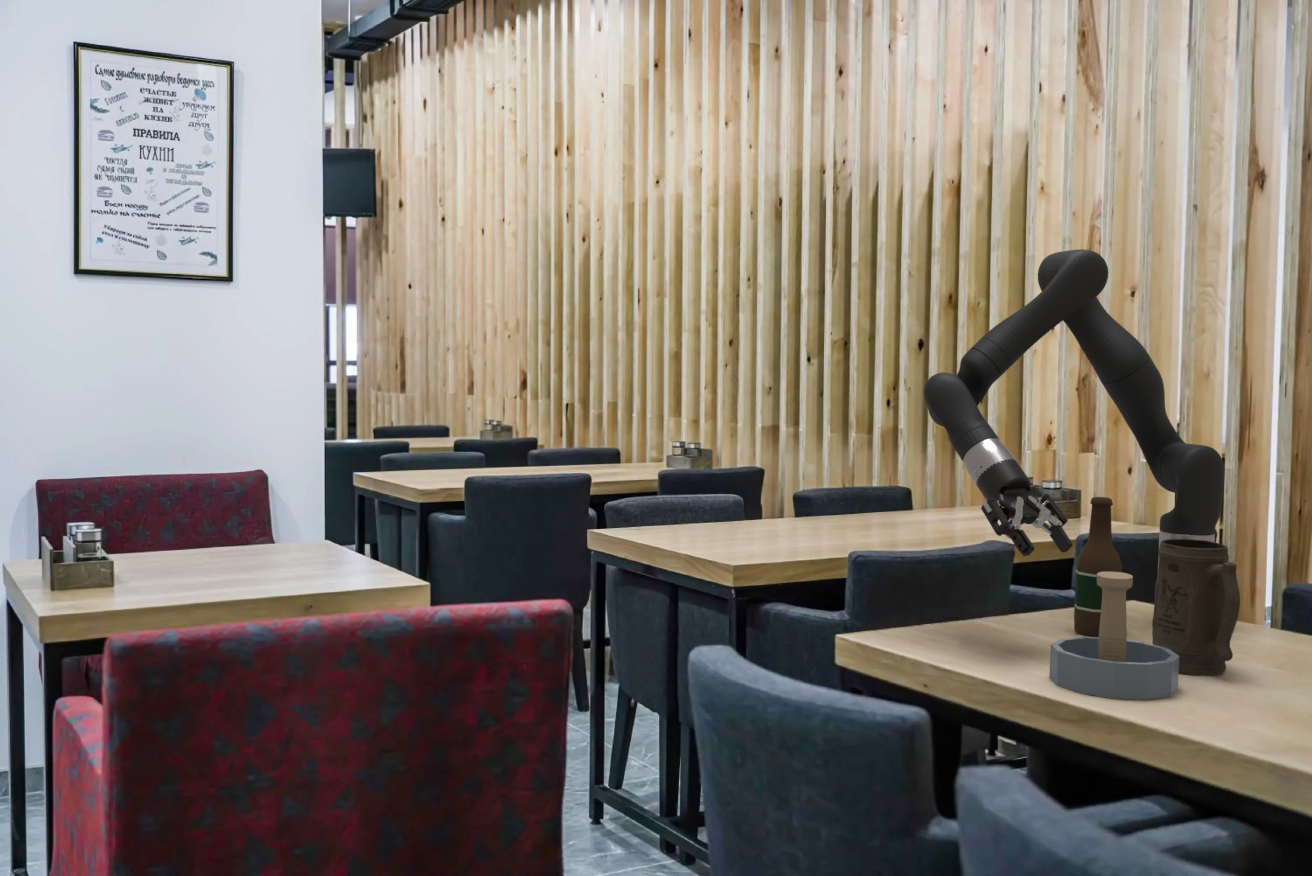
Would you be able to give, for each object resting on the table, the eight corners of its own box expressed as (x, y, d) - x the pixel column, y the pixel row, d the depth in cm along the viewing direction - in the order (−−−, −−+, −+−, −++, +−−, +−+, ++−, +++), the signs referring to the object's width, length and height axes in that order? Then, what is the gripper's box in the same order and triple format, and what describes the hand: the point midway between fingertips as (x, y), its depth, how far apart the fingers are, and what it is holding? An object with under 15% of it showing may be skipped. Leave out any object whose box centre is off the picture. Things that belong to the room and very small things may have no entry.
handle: (1127, 672, 177) (1131, 572, 176) (1130, 683, 171) (1134, 579, 170) (1093, 669, 178) (1096, 570, 178) (1094, 680, 172) (1098, 577, 171)
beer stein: (1131, 660, 189) (1143, 537, 186) (1181, 655, 193) (1193, 534, 191) (1210, 691, 175) (1224, 558, 172) (1263, 685, 179) (1277, 555, 177)
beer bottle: (1124, 632, 210) (1129, 497, 209) (1114, 640, 204) (1120, 501, 202) (1078, 626, 214) (1083, 494, 213) (1068, 634, 208) (1073, 497, 206)
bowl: (1111, 665, 186) (1112, 633, 185) (1202, 692, 170) (1203, 658, 170) (1026, 675, 179) (1028, 642, 178) (1113, 704, 163) (1115, 668, 163)
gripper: (976, 458, 189) (1030, 539, 180) (1039, 456, 196) (1094, 533, 187) (952, 488, 194) (1003, 569, 185) (1013, 485, 201) (1066, 562, 192)
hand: (1049, 551), depth 186 cm, fingers open, 8 cm apart
